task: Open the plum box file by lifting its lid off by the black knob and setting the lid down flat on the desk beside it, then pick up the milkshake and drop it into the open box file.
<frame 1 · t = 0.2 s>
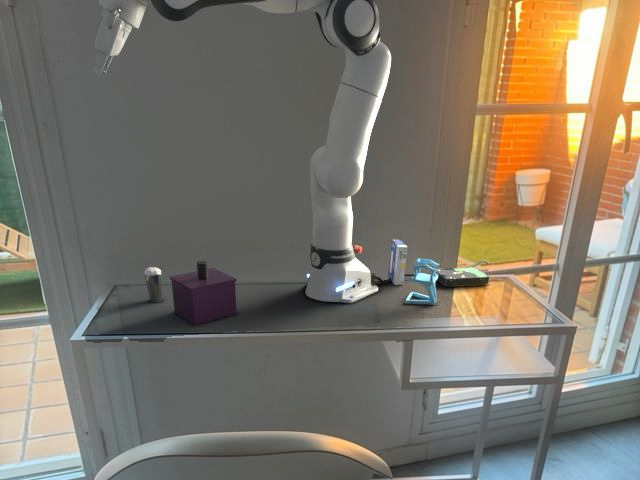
hand: (99, 72, 133), 54 cm above the table, tool tilted 30°, fingers open, 8 cm apart
disk drive: (459, 281, 187), on the table
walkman: (395, 281, 185), on the table
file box: (205, 313, 157), on the table
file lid: (203, 280, 152), point 9 cm above the table, touching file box
milkshake: (157, 301, 163), on the table
chair: (421, 301, 170), on the table
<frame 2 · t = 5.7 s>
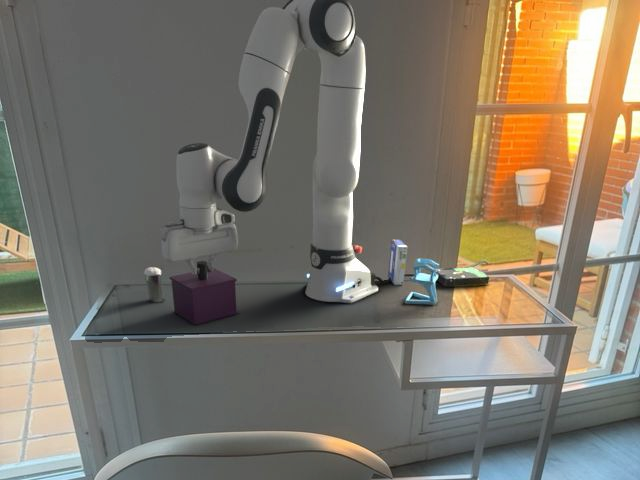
hand: (202, 272, 151), 11 cm above the table, tool pointing down, fingers closed on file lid, 2 cm apart
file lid: (203, 280, 152), point 9 cm above the table, touching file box, gripper
everything else where it was.
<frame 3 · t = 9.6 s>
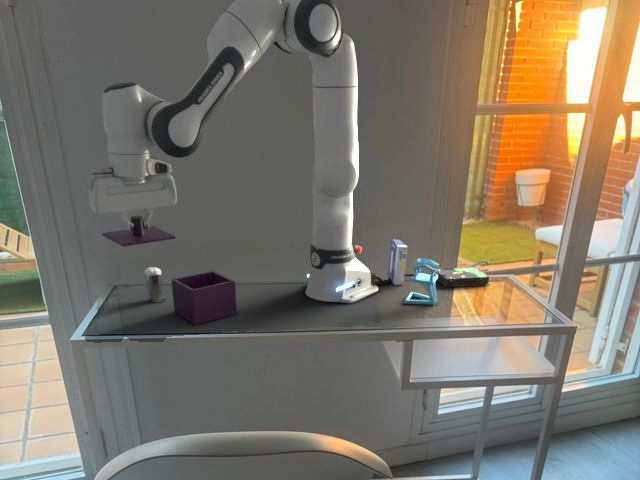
hand: (138, 229, 139), 23 cm above the table, tool pointing down, fingers closed on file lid, 2 cm apart
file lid: (138, 237, 140), point 21 cm above the table, touching gripper
everything else where it was.
when the fingers open (2 cm above the table, at t = 13.6 s): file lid stays where it is, on the table.
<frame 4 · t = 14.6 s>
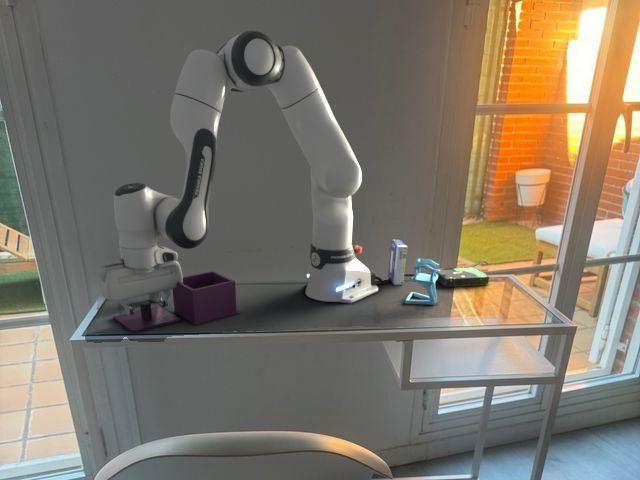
hand: (147, 310, 150), 3 cm above the table, tool pointing down, fingers open, 8 cm apart
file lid: (147, 319, 151), on the table
everything else where it was.
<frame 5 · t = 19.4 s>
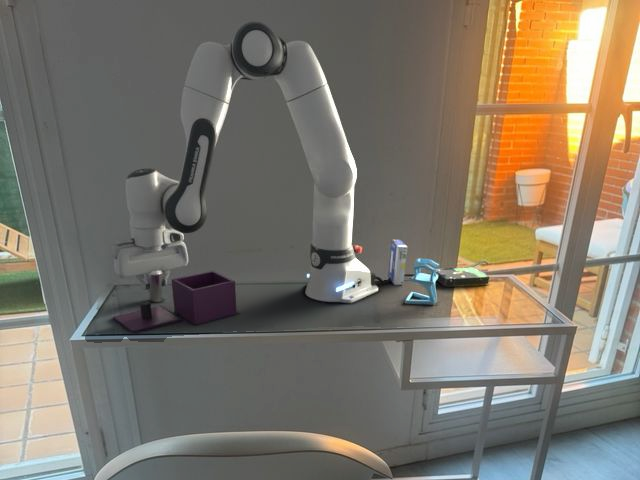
hand: (154, 287, 161), 4 cm above the table, tool pointing down, fingers closed on milkshake, 4 cm apart
milkshake: (157, 301, 163), on the table, touching gripper
everything else where it was.
when the fingers open (11 cm above the table, at t = 27.3 s): milkshake drops 6 cm, resting on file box.
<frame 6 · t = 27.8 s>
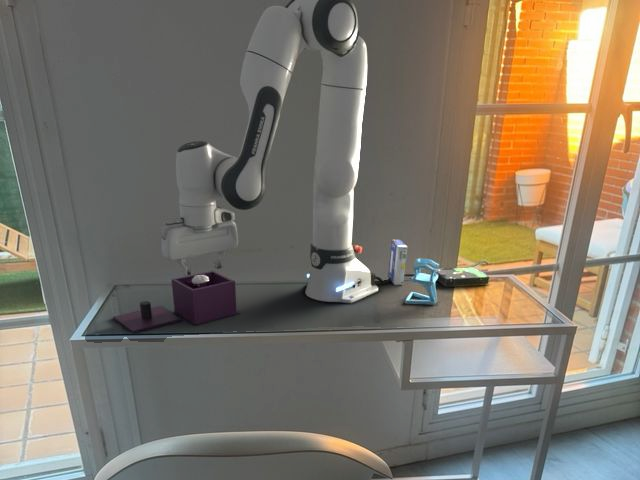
hand: (203, 271, 151), 11 cm above the table, tool pointing down, fingers open, 8 cm apart
milkshake: (207, 310, 156), point 1 cm above the table, touching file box
everything else where it was.
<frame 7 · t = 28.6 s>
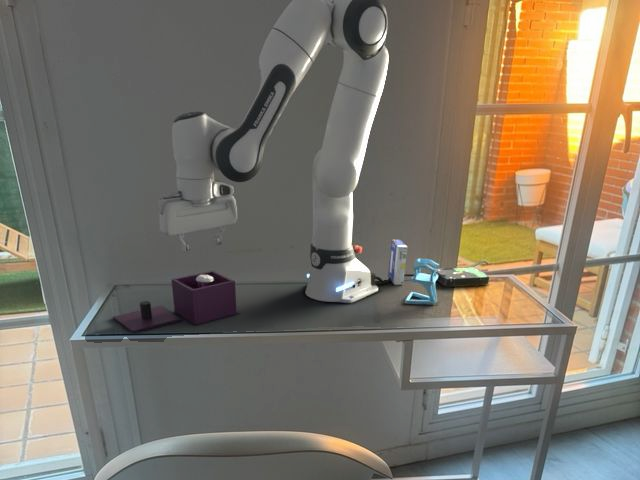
hand: (202, 247, 148), 17 cm above the table, tool pointing down, fingers open, 8 cm apart
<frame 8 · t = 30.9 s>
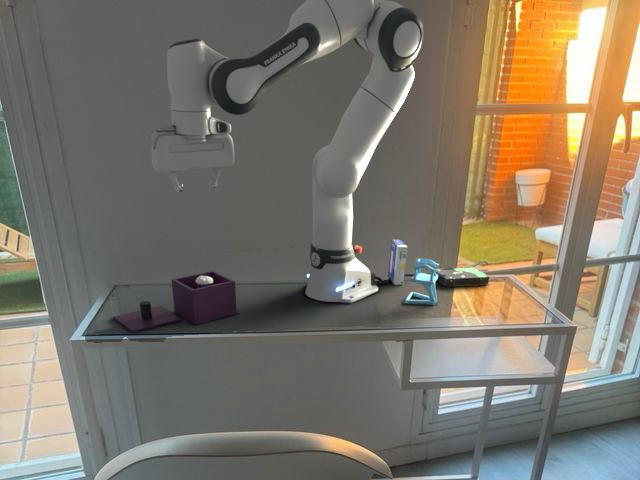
hand: (196, 189, 140), 31 cm above the table, tool pointing down, fingers open, 8 cm apart
at the end: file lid inside the target area (0.1 cm from its centre), on the table; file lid tilted 0°; milkshake inside the target area on the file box (0.7 cm from its centre), point 0.6 cm above the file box's base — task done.
